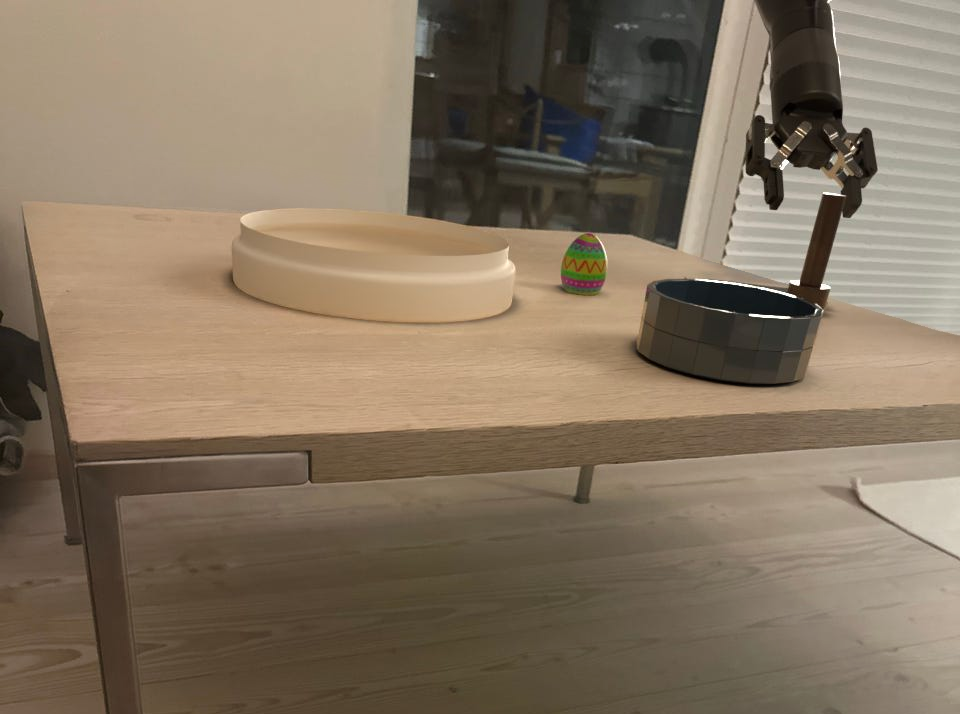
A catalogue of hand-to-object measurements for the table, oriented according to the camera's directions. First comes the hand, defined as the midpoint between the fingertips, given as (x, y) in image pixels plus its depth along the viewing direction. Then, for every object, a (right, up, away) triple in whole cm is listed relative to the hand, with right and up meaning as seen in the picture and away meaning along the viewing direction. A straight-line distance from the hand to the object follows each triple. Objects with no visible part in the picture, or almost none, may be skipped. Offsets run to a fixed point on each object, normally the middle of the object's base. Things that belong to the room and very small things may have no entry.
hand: (814, 209), depth 101 cm
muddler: (-1, -11, +2) cm, 11 cm away
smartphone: (-5, -7, +6) cm, 11 cm away
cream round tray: (-47, -13, -11) cm, 50 cm away
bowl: (-16, -24, -23) cm, 37 cm away
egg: (-26, -10, -1) cm, 28 cm away
